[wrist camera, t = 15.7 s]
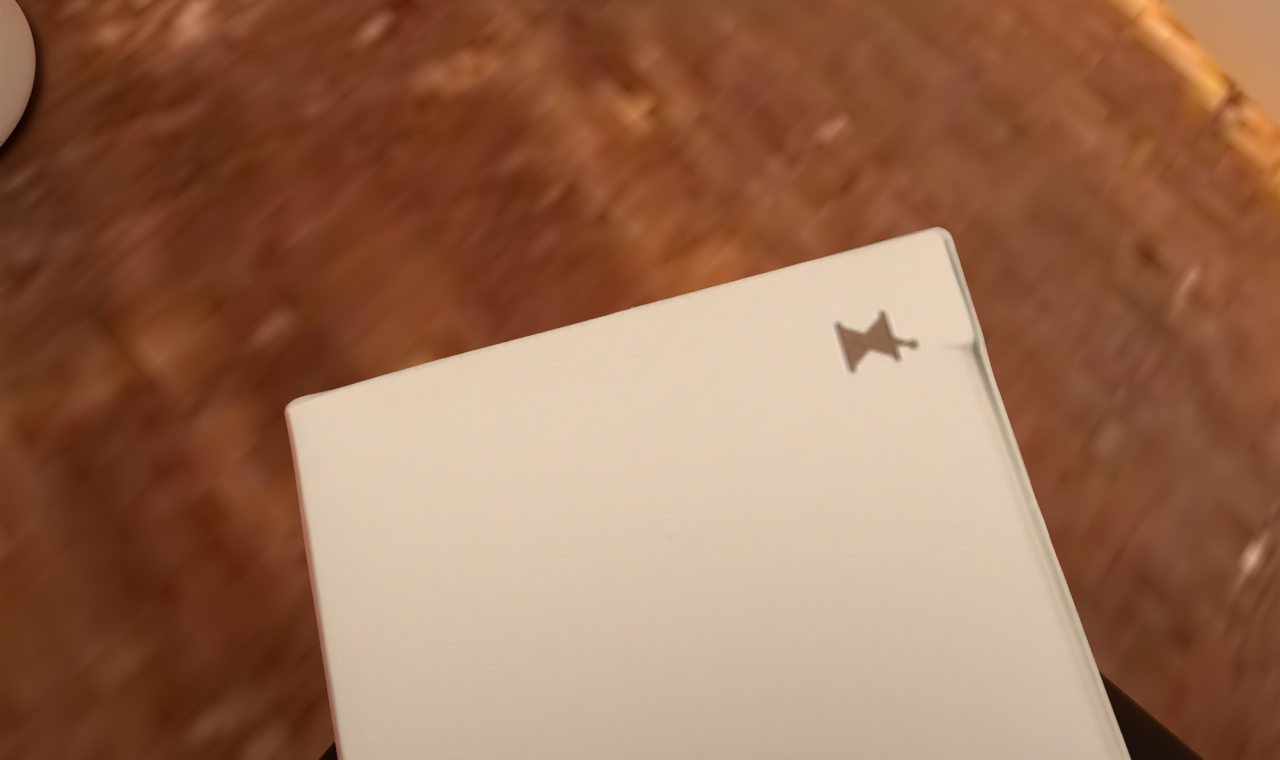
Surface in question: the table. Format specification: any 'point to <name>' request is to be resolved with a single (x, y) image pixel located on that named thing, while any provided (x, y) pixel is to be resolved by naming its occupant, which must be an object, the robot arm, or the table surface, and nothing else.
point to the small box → (699, 537)
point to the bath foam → (14, 66)
